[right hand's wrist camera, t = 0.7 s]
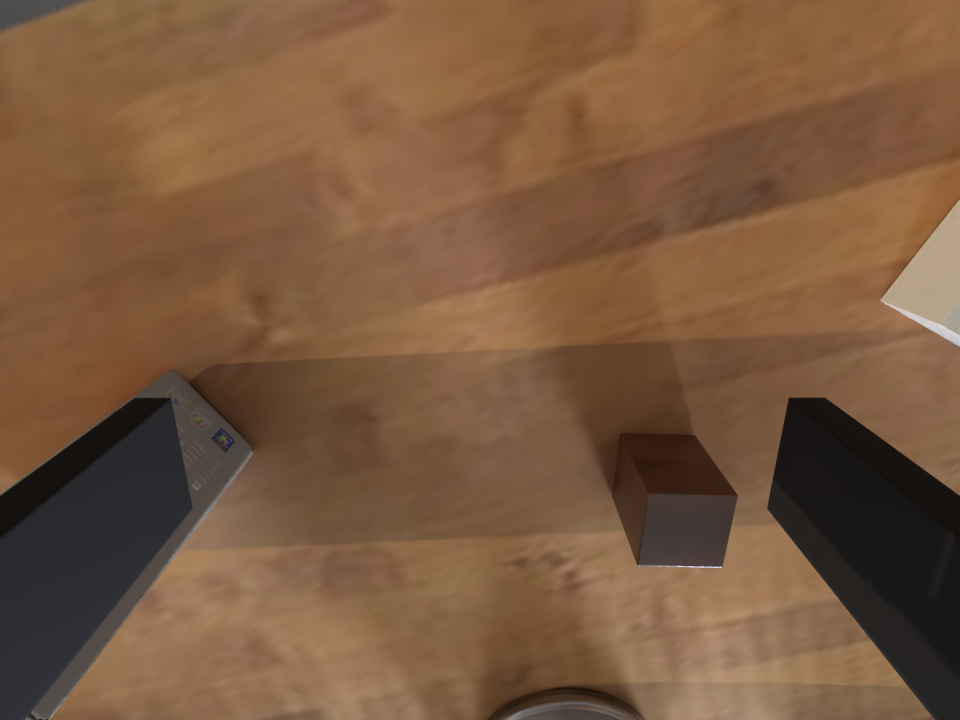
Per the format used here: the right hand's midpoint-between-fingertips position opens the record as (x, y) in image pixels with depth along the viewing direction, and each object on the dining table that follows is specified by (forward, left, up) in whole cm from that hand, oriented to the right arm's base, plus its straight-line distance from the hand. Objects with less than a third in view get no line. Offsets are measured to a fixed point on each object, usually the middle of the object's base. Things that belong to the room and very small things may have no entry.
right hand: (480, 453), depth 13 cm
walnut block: (-14, -12, -24) cm, 30 cm away
